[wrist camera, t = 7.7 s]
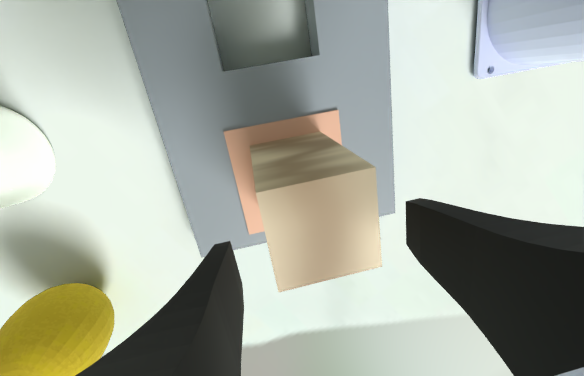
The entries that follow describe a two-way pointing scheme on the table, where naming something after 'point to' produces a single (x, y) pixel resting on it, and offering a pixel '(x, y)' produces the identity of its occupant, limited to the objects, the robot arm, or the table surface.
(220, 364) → the robot arm
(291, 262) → the peg
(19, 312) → the lemon
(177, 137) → the pocket board
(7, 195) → the beer glass
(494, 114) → the table surface
